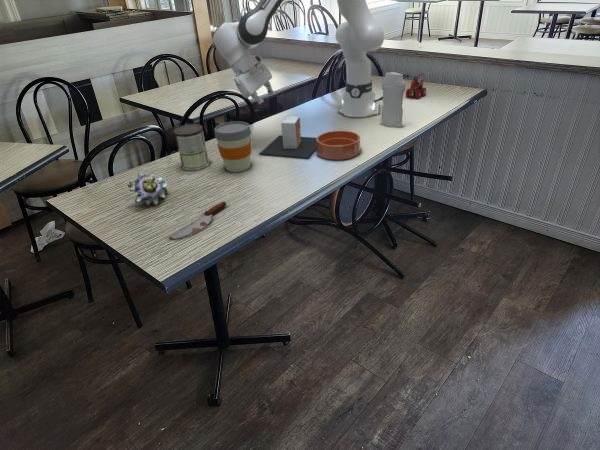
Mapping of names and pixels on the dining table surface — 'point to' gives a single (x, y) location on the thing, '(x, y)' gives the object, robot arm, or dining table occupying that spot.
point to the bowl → (338, 145)
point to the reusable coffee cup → (234, 145)
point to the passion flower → (148, 188)
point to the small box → (291, 132)
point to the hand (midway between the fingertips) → (267, 98)
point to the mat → (302, 151)
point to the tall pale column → (392, 99)
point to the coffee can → (191, 146)
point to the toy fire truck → (416, 87)
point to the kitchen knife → (198, 222)
